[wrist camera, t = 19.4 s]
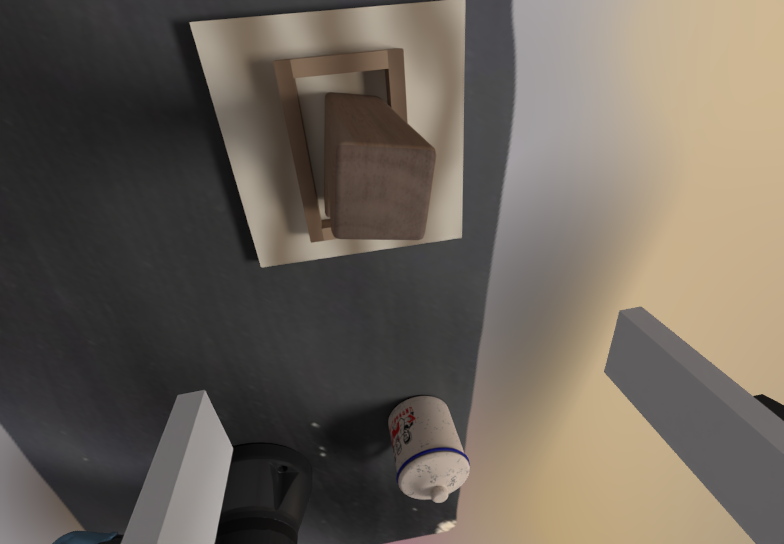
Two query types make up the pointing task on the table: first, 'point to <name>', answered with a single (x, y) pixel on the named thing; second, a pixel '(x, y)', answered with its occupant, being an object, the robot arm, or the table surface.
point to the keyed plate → (307, 111)
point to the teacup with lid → (427, 449)
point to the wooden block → (374, 171)
